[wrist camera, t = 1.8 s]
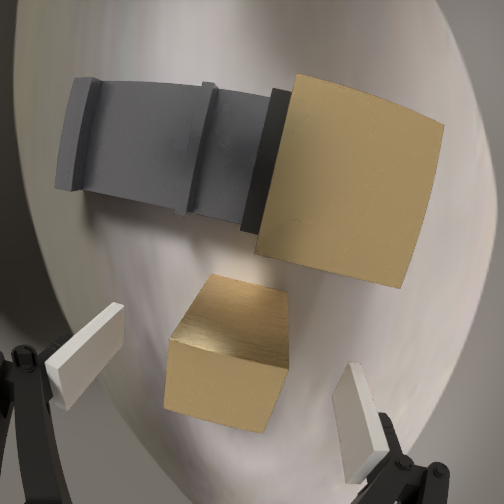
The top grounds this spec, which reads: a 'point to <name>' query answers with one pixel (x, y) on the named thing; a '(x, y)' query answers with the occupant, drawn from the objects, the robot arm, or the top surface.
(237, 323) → the tan rectangular block
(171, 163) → the rail
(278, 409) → the top surface
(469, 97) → the top surface
